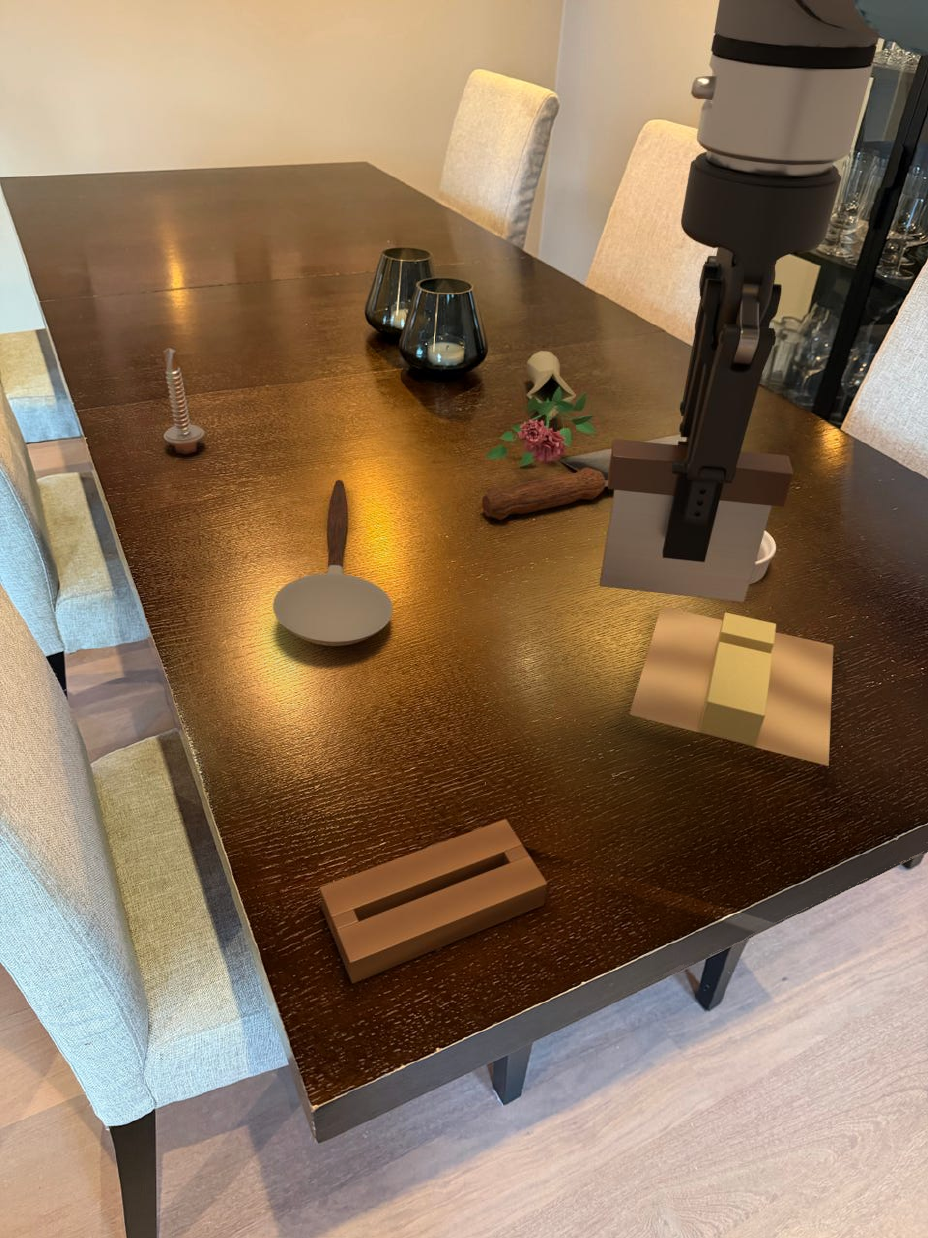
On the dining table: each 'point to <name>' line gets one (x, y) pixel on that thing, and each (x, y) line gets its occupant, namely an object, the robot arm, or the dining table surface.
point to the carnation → (546, 413)
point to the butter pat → (747, 633)
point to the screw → (179, 410)
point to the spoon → (333, 594)
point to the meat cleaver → (557, 485)
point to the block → (430, 899)
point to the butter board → (793, 694)
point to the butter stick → (737, 694)
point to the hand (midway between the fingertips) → (682, 543)
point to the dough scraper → (646, 511)
